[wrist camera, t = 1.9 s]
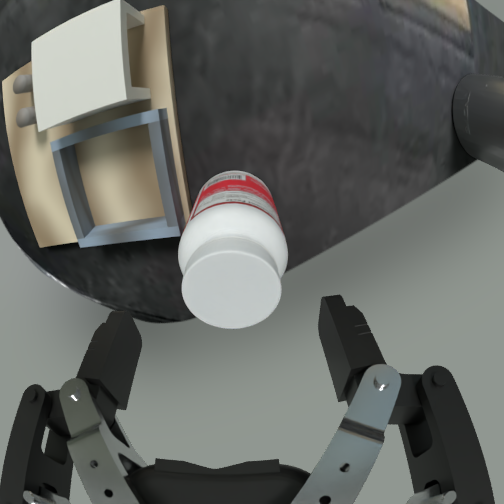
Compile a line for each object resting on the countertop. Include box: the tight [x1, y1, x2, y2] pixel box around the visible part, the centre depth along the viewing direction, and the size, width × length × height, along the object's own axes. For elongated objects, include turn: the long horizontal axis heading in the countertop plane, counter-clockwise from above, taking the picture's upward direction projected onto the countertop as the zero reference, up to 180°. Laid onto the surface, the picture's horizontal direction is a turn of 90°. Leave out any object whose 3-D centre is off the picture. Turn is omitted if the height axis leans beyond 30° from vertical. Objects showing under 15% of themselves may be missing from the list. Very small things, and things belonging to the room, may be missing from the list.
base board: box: [2, 5, 192, 248], centre depth 16 cm, size 17×18×4 cm
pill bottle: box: [178, 171, 288, 329], centre depth 17 cm, size 6×6×11 cm
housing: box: [32, 0, 151, 132], centre depth 12 cm, size 7×7×4 cm
